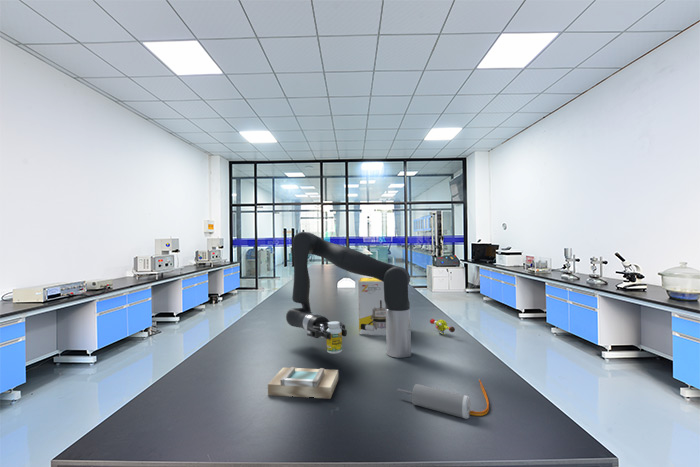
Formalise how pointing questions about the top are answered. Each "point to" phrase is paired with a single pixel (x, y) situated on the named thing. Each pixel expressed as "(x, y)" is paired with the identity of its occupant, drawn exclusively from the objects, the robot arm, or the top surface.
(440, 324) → the toy figure
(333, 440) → the top surface
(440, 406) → the motor
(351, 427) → the top surface
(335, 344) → the supplement bottle
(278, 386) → the dock
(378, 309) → the packaging box
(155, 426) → the top surface
